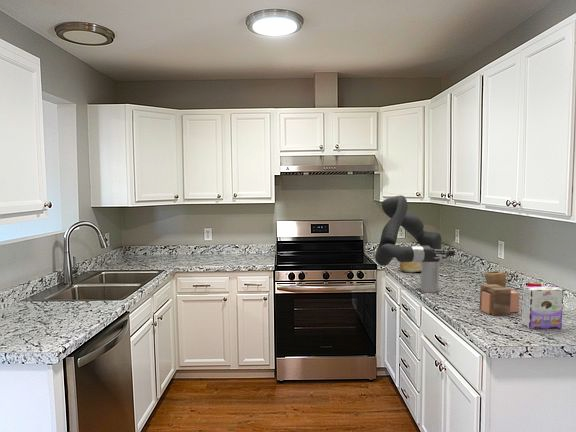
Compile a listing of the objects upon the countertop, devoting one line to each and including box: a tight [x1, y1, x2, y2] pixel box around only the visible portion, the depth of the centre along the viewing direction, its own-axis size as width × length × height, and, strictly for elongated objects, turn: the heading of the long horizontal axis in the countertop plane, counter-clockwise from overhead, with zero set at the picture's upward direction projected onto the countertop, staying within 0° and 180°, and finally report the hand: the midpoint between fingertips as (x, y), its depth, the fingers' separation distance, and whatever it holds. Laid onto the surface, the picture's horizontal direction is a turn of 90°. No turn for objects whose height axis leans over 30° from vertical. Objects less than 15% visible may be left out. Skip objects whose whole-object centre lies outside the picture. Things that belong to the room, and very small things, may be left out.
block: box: [480, 289, 521, 315], centre depth 183 cm, size 5×16×9 cm, turn 102°
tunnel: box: [479, 283, 512, 317], centre depth 183 cm, size 10×8×12 cm
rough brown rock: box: [399, 262, 422, 273], centre depth 274 cm, size 23×17×15 cm
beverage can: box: [526, 280, 543, 287], centre depth 193 cm, size 6×6×12 cm
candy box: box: [520, 286, 564, 329], centre depth 164 cm, size 14×6×16 cm, turn 92°
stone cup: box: [484, 270, 507, 287], centre depth 204 cm, size 15×12×15 cm
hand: (453, 253), depth 179 cm, fingers closed
